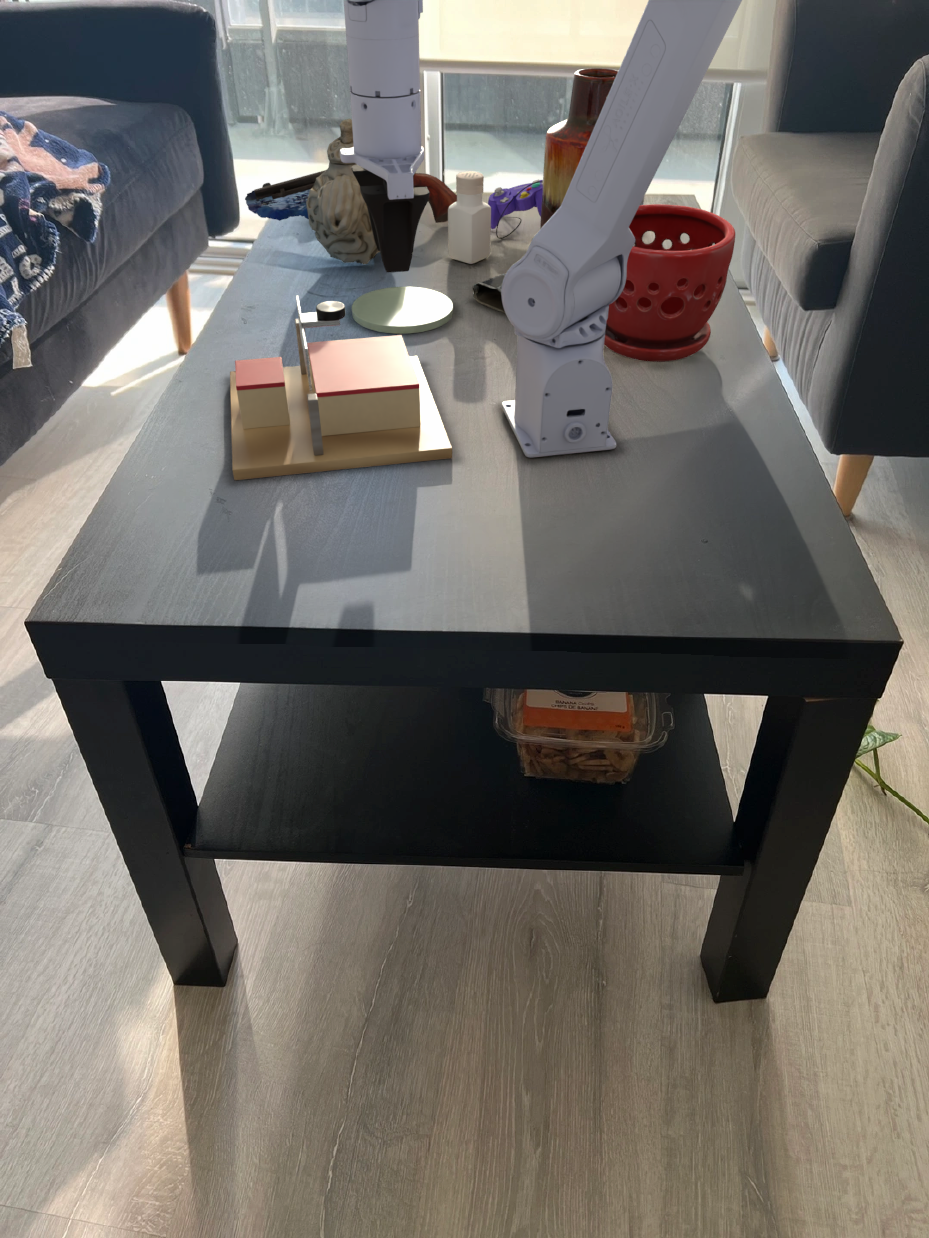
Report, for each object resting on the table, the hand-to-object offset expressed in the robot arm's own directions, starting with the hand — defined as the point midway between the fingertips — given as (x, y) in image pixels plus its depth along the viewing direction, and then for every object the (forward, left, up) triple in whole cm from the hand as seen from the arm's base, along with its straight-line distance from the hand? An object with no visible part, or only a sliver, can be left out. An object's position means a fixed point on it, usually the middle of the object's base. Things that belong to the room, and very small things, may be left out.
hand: (392, 259), depth 84 cm
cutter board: (-9, +7, -10) cm, 15 cm away
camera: (+12, -15, -11) cm, 22 cm away
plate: (+13, -2, -10) cm, 17 cm away
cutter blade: (-9, +7, -5) cm, 13 cm away
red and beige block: (-9, +4, -9) cm, 14 cm away
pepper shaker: (+28, -13, -11) cm, 33 cm away
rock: (+52, +2, -4) cm, 52 cm away
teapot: (+31, 0, -10) cm, 33 cm away
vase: (+23, -26, -11) cm, 36 cm away
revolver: (+40, -3, -11) cm, 41 cm away
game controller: (+38, -22, -11) cm, 45 cm away
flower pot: (0, -26, -11) cm, 28 cm away
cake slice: (-9, +13, -9) cm, 18 cm away
